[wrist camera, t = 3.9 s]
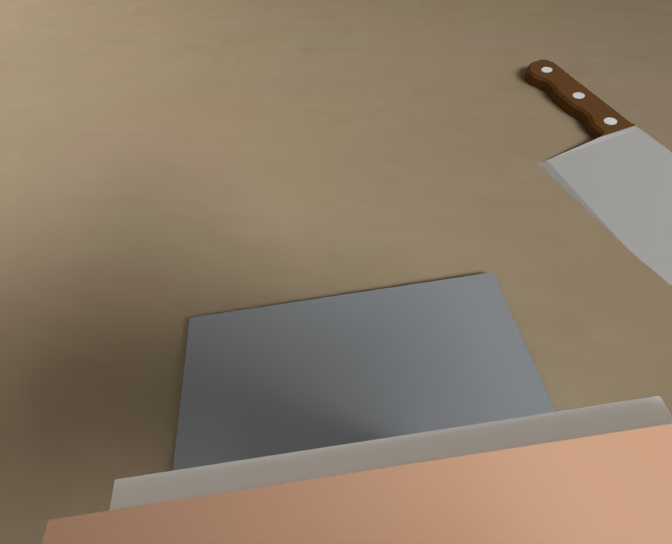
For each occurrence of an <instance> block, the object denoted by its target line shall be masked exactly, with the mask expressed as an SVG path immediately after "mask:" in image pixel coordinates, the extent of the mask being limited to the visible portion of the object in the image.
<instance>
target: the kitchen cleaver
mask: <svg viewBox="0 0 672 544" xmlns="http://www.w3.org/2000/svg"><path fill="white" fill-rule="evenodd" d="M525 81H526V82H527V83H529V84H530V85H531V86H534V87H536V88H539V89H542V90H544V91H545V92H546V93H547V94H548V95H549V96H550V97H551V99H552V101H553V102H555V103H556V104H557V105H558V106H559V107H560V108H562V109H563V110H564V111H565V112H566V113H567V114H569V115H571V116H573V117H574V118H576V119H578V120H579V121H580V122H581V123H583V124H584V126H585V128H586V130H587V133H588V134H589V135H591V136H592V137H593V138H594V140H592V141H590V142H588V143H585V144H583V145H581V146H578V147H576V148H574V149H571V150H569V151H567V152H564V153H562V154H560V155H557V156H555V157H553V158H551V159H548V160H546V161H543V162H540V163H538V164H539V165H540V166H541V167H542V168H543V169H544V170H545V171H546V172H547V173H548V174H549V175H550V176H551V177H553V178H554V179H555V180H556V181H557V182H558V183H559V184H560V185H561V186H562V187H563V188H564V189H565V190H566V191H567V192H568V193H569V194H570V195H571V196H573V197H574V198H575V199H576V200H577V201H578V202H579V203H580V204H581V205H582V206H583V207H584V208H585V209H586V210H587V211H588V212H589V213H591V214H592V215H593V216H594V217H595V218H596V219H597V220H598V221H599V222H600V223H601V224H602V225H603V226H604V227H605V228H606V229H608V230H609V231H610V232H611V233H612V234H613V235H614V236H615V237H616V238H617V239H618V240H619V241H620V242H621V243H622V244H624V245H625V246H626V247H627V248H628V249H629V250H630V251H631V252H632V253H633V254H634V255H636V256H637V257H638V258H639V259H640V260H641V261H643V262H644V263H645V264H646V265H647V266H649V267H650V268H651V269H652V270H653V271H654V272H656V273H657V274H658V275H659V276H660V277H662V278H663V279H664V280H665V281H666V282H667V283H669V284H670V285H671V286H672V152H671V151H669V150H668V149H666V148H665V147H664V146H662V145H661V144H660V143H658V142H657V141H656V140H654V139H653V138H652V137H650V136H649V135H647V134H646V133H645V132H643V131H642V130H641V129H639V128H638V127H636V126H635V125H634V124H632V123H630V122H629V121H628V120H626V119H625V118H624V117H623V116H621V115H620V114H619V113H617V112H616V111H615V110H614V109H612V108H611V107H610V106H608V105H607V104H606V103H605V102H603V101H602V100H601V99H599V98H598V97H597V96H596V95H594V94H593V93H592V92H590V91H589V90H588V89H587V88H585V87H584V86H583V85H581V84H580V83H579V82H578V81H576V80H575V79H574V78H572V77H571V76H570V75H569V74H567V73H566V72H565V71H563V70H562V69H561V68H560V67H558V66H557V65H556V64H554V63H553V62H550V61H548V60H539V61H535V62H533V63H531V64H530V65H529V67H528V69H527V72H526V75H525Z"/></svg>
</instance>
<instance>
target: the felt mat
mask: <svg viewBox="0 0 672 544" xmlns="http://www.w3.org/2000/svg"><path fill="white" fill-rule="evenodd" d="M551 412H556V411H555V409H554V407H553V404H552V402H551V400H550V398H549V396H548V393H547V391H546V389H545V387H544V384H543V382H542V380H541V378H540V376H539V373H538V371H537V369H536V367H535V365H534V362H533V360H532V358H531V356H530V353H529V351H528V349H527V347H526V345H525V342H524V340H523V338H522V336H521V334H520V331H519V329H518V327H517V325H516V322H515V320H514V318H513V316H512V314H511V311H510V309H509V307H508V305H507V303H506V300H505V298H504V296H503V294H502V291H501V289H500V287H499V285H498V283H497V280H496V278H495V276H494V274H493V272H491V273H484V274H478V275H471V276H464V277H458V278H451V279H444V280H438V281H431V282H424V283H418V284H411V285H404V286H398V287H391V288H384V289H377V290H371V291H364V292H357V293H351V294H344V295H337V296H331V297H324V298H317V299H311V300H304V301H297V302H291V303H284V304H277V305H271V306H264V307H257V308H251V309H244V310H237V311H231V312H224V313H217V314H211V315H204V316H197V317H191V318H190V319H189V328H188V337H187V346H186V355H185V364H184V373H183V381H182V390H181V399H180V408H179V417H178V426H177V435H176V443H175V452H174V461H173V470H172V471H174V470H180V469H187V468H193V467H200V466H206V465H213V464H219V463H226V462H232V461H239V460H245V459H252V458H258V457H265V456H271V455H278V454H284V453H291V452H297V451H304V450H310V449H317V448H323V447H330V446H337V445H343V444H350V443H356V442H363V441H369V440H376V439H382V438H389V437H395V436H402V435H408V434H415V433H421V432H428V431H434V430H441V429H447V428H454V427H460V426H467V425H473V424H480V423H486V422H493V421H499V420H506V419H512V418H519V417H525V416H532V415H538V414H545V413H551Z"/></svg>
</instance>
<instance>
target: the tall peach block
mask: <svg viewBox="0 0 672 544" xmlns="http://www.w3.org/2000/svg"><path fill="white" fill-rule="evenodd" d="M42 544H672V415H671V413H670V412H669V410H668V408H667V407H666V405H665V404H664V402H663V400H662V399H661V397H660V396H656V397H649V398H643V399H636V400H630V401H623V402H617V403H610V404H604V405H597V406H591V407H584V408H578V409H571V410H565V411H558V412H551V413H545V414H538V415H532V416H525V417H519V418H512V419H506V420H499V421H493V422H486V423H480V424H473V425H467V426H460V427H454V428H447V429H441V430H434V431H428V432H421V433H415V434H408V435H402V436H395V437H389V438H382V439H376V440H369V441H363V442H356V443H350V444H343V445H337V446H330V447H323V448H317V449H310V450H304V451H297V452H291V453H284V454H278V455H271V456H265V457H258V458H252V459H245V460H239V461H232V462H226V463H219V464H213V465H206V466H200V467H193V468H187V469H180V470H174V471H167V472H161V473H154V474H148V475H141V476H135V477H128V478H122V479H115V482H114V487H113V493H112V498H111V503H110V508H109V511H102V512H96V513H89V514H83V515H76V516H70V517H63V518H57V519H50V520H48V521H47V525H46V529H45V532H44V536H43V540H42Z"/></svg>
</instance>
